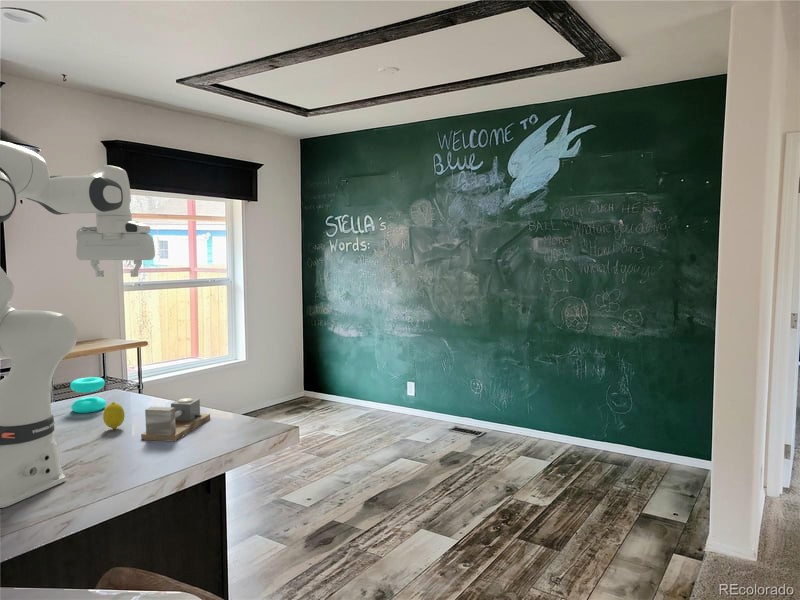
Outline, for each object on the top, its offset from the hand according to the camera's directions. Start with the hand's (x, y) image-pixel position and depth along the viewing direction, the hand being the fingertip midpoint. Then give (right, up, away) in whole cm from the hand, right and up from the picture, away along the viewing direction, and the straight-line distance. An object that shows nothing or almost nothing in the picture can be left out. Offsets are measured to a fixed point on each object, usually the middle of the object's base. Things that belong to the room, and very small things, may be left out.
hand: (117, 276), depth 162 cm
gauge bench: (+13, -44, +9) cm, 47 cm away
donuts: (-23, -43, +29) cm, 56 cm away
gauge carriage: (+15, -42, +12) cm, 46 cm away
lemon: (-5, -44, +8) cm, 45 cm away
